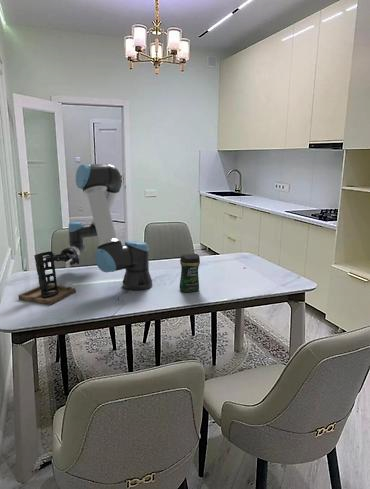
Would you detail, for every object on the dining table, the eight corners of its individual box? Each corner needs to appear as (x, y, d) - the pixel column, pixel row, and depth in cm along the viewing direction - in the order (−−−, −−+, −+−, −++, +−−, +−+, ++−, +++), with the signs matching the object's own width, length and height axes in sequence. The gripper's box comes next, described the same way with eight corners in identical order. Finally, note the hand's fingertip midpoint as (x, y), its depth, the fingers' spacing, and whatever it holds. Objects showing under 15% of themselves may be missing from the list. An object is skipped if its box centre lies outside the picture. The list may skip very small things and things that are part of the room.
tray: (75, 292, 180) (75, 288, 180) (50, 305, 164) (50, 301, 163) (46, 287, 186) (45, 283, 186) (18, 299, 170) (18, 295, 170)
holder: (50, 298, 169) (43, 256, 165) (35, 299, 170) (28, 256, 166) (62, 290, 179) (56, 250, 176) (48, 291, 181) (41, 251, 177)
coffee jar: (182, 293, 180) (182, 256, 176) (177, 288, 187) (178, 252, 183) (201, 291, 183) (202, 255, 179) (196, 286, 190) (196, 251, 186)
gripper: (92, 261, 200) (78, 273, 179) (48, 259, 202) (28, 271, 181) (92, 248, 198) (77, 258, 177) (47, 246, 200) (27, 256, 179)
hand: (52, 264), depth 179 cm, fingers open, 13 cm apart
